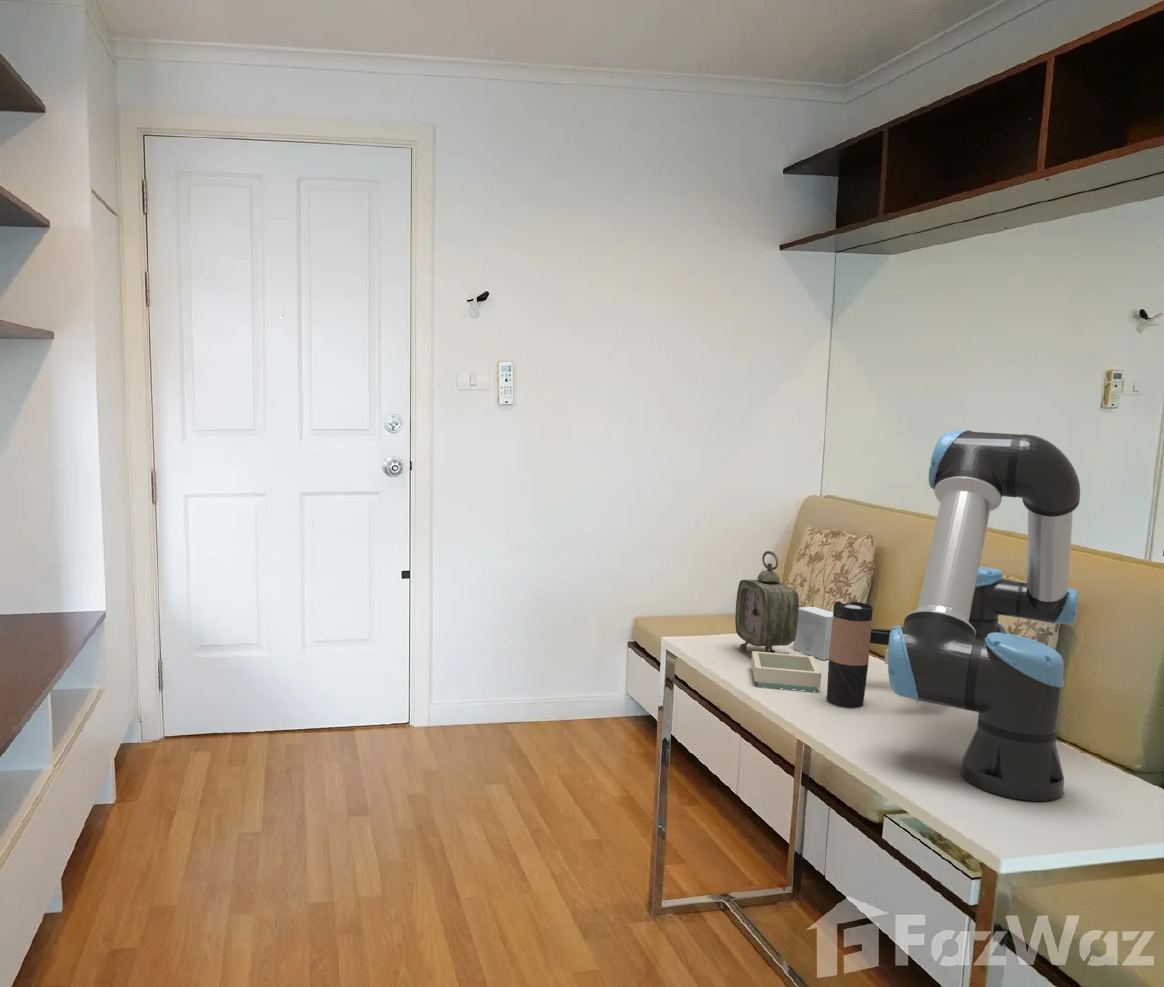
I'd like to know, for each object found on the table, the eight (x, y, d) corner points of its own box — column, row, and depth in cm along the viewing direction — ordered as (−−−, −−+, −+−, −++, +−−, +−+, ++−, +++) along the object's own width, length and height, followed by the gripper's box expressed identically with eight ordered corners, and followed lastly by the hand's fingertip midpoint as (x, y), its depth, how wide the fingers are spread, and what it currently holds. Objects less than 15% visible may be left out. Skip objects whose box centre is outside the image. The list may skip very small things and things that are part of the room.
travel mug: (856, 711, 184) (865, 611, 182) (819, 702, 189) (827, 604, 187) (870, 702, 190) (879, 605, 188) (834, 693, 195) (842, 598, 193)
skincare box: (842, 658, 223) (846, 615, 222) (822, 661, 220) (825, 617, 219) (811, 647, 232) (815, 605, 231) (791, 649, 229) (795, 607, 228)
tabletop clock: (732, 648, 226) (740, 546, 224) (766, 647, 229) (774, 546, 227) (761, 666, 213) (770, 557, 210) (796, 664, 215) (805, 557, 213)
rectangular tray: (819, 692, 195) (821, 674, 195) (754, 686, 197) (755, 668, 196) (809, 668, 213) (811, 651, 212) (749, 663, 214) (751, 646, 214)
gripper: (987, 676, 188) (905, 684, 180) (899, 644, 211) (822, 649, 202) (991, 640, 187) (908, 645, 179) (902, 611, 210) (825, 615, 201)
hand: (862, 647), depth 190 cm, fingers open, 13 cm apart
